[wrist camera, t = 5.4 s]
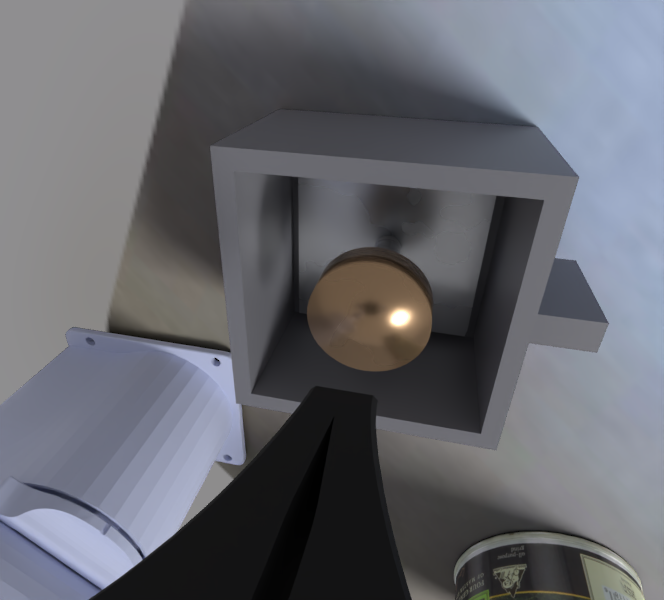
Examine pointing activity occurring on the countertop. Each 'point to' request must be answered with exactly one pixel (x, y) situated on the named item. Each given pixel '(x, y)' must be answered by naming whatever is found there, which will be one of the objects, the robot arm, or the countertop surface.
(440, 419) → the grey open box
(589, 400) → the countertop surface
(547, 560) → the coffee can
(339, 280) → the plunger
